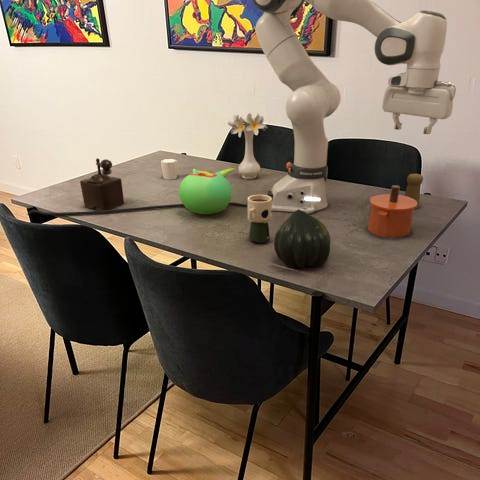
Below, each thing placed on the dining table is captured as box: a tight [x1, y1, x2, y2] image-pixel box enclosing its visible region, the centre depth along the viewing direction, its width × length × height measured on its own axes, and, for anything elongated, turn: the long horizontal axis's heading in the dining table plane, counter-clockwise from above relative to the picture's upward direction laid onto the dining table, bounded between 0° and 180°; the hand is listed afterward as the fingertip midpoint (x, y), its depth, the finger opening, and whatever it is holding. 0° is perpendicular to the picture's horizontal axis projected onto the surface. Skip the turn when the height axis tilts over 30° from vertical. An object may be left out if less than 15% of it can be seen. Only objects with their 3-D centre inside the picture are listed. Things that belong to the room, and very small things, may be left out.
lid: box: [369, 184, 417, 211], centre depth 144 cm, size 14×14×6 cm
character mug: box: [247, 194, 273, 243], centre depth 142 cm, size 11×7×13 cm, turn 147°
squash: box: [273, 209, 331, 268], centre depth 129 cm, size 14×15×15 cm
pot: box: [367, 204, 415, 238], centre depth 148 cm, size 13×18×9 cm
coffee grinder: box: [79, 157, 125, 211], centre depth 168 cm, size 16×11×18 cm
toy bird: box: [178, 167, 235, 215], centre depth 163 cm, size 18×17×15 cm
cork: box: [403, 173, 424, 210], centre depth 167 cm, size 6×6×11 cm
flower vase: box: [227, 112, 268, 180], centre depth 196 cm, size 13×18×25 cm
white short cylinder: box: [160, 158, 178, 181], centre depth 201 cm, size 7×7×7 cm
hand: (411, 131), depth 143 cm, fingers open, 8 cm apart
